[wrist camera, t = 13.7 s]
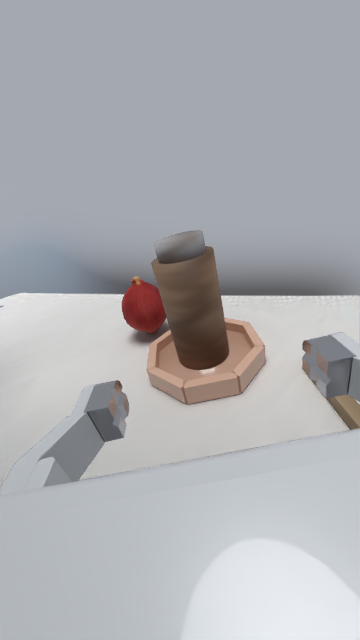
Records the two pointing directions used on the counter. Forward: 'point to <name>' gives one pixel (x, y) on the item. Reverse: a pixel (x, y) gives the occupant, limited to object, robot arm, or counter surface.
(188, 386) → the dish
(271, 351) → the counter surface
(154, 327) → the onion
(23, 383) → the counter surface
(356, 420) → the holder frame
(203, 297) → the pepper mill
